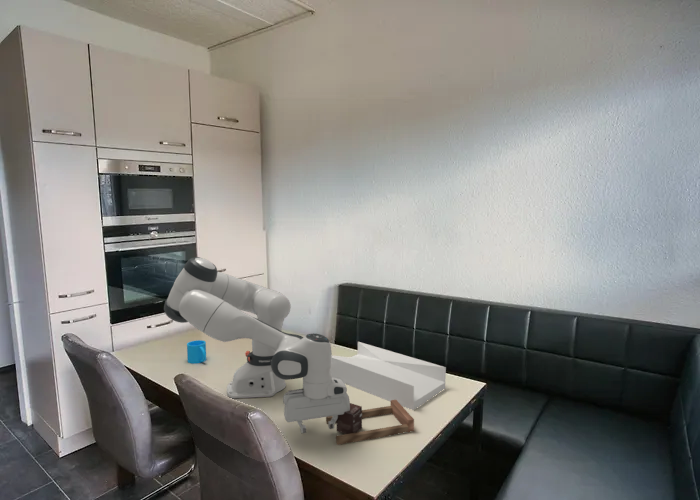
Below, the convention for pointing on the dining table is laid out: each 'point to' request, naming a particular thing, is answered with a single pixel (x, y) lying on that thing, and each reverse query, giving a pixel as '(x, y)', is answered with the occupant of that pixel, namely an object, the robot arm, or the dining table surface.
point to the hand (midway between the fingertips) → (317, 430)
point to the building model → (390, 375)
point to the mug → (196, 351)
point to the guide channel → (376, 433)
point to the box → (350, 420)
